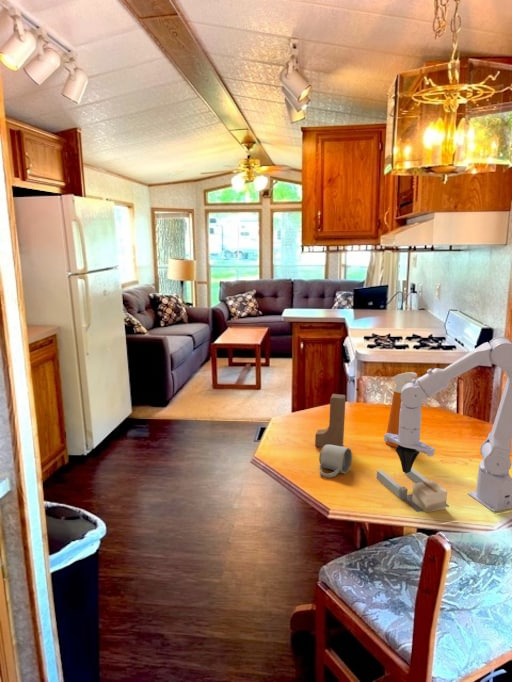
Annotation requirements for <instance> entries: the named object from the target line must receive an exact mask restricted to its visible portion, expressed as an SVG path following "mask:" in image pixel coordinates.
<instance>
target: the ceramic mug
mask: <svg viewBox="0 0 512 682" xmlns="http://www.w3.org/2000/svg"><path fill="white" fill-rule="evenodd" d="M318 456H319V457H318V459H319V460H318V461H319V469H318V470H319V473H320V475H321V476H322V477H325V478H329V479H331V478H334V477H336V476H337V475H338V474H339V473H340V474H346V473H348V472H349V470H350V468H351V465H352V460H353V453H352V450H351V447H347V446H342V447H341V446H335V445H324V446H323V447H321V449H320V452H319V455H318ZM323 468H325V469H328V470H330V471H332V472H330V473H325V472H323V470H322V469H323Z"/></svg>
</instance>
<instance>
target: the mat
mask: <svg viewBox="0 0 512 682" xmlns="http://www.w3.org/2000/svg"><path fill="white" fill-rule="evenodd" d="M412 494H413V493H410V494H407V499H406V500H403V502H404V503H406V504H407V505H408V506H409V507H411V508H412V509H413V510H414V511H415V512H417V513H418V512H423V510H422V509H421V508H420V507H419V506H418V505H416V504H415V503H414V502H413V501H412ZM446 507H447V508H449V507H450V505H449V504H448V503H446Z"/></svg>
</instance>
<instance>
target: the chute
mask: <svg viewBox="0 0 512 682" xmlns="http://www.w3.org/2000/svg"><path fill="white" fill-rule="evenodd" d="M404 475H405V476H407V477H408V478H409V479H411V481H413V482H414V483H420V482H427V481H430V480H429V479H427V478H426V477H425V476H424V475H422V474H421V473H420V472H419V471H417V470H416V469H414V468H413V467H412V468H411V471H410V472H409V473H405V472H404ZM376 479H377V480H378V481H379V482H380V483H382V484H383V485H384V486H385V488H387V489H388V490H389V491H390V492H392V493H393V494H394V495H395V496H396V497H397V498H398V499H400V500H401V501H404V500H406V499H407V495H408V488H407V487H406V486H402V485H400V484H399V483H398V482H397V481H395V480H394V479H393V478H392V477H390V476H389V475H388V474H387V473H386V472H384V471H383V470H382V469H379V470H376Z"/></svg>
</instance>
